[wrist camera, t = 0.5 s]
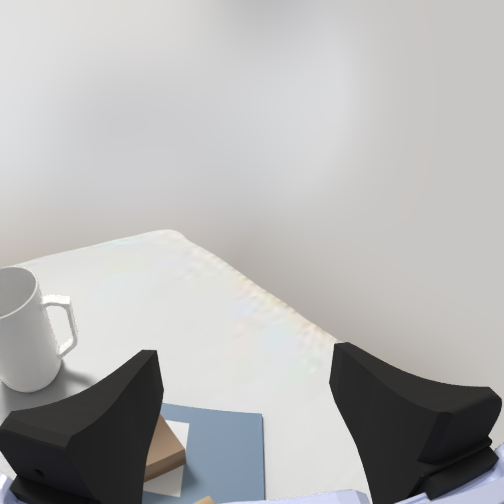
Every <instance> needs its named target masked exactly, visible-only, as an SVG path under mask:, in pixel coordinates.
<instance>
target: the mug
mask: <svg viewBox="0 0 504 504" xmlns="http://www.w3.org/2000/svg"><path fill="white" fill-rule="evenodd" d="M52 305H54V306H61V307H63V308H64V309H65V310H66V311H67V315H68V319H69V324H70V328H71V332H72V337H71V338H70V339H69V340H68V341H67V342H66V343H64V344H63V345H62V346H61V347H59V346H58V343H57V340H56V337H55V335H54V332H53V329H52V326H51V323H50V320H49V317H48V314H47V310H46V307H47V306H52ZM77 340H78V331H77V326H76V322H75V318H74V313H73V308H72V304H71V297H70V296H60V295H48V296H45V297H43V296H42V293H41V290H40V286H39V282H38V279H37V276H36V275H35V274H34V273H33V272H32V271H31V270H29V269H27V268H24V267H19V266H8V267H2V268H0V379H1V380H2V381H3V382H4V384H6V385H7V386H8V387H9V388H11V389H13V390H16V391H19V392H34V391H38V390H41V389H43V388H45V387H46V386H47V385H49V384H50V383H51V382H52V381H53V380H54V378H55V377H56V376H57V374H58V372H59V370H60V366H61V359H62V358H63V357H64V356H65V355H66V354H67V353H68V352H70V351H71V350H72V349H73V348H74V347H75V346H76V345H77Z"/></svg>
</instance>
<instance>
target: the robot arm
mask: <svg viewBox="0 0 504 504" xmlns="http://www.w3.org/2000/svg"><path fill="white" fill-rule="evenodd" d="M329 384H330V388H331V391H332V394H333V397H334V400H335V403H336V405H337V407H338V409H339V411H340V413H341V415H342V417H343V419H344V421H345V423H346V425H347V427H348V429H349V431H350V433H351V435H352V437H353V439H354V442H355V444H356V446H357V449H358V452H359V455H360V458H361V461H362V464H363V468H364V471H365V474H366V478H367V481H368V485H369V489H370V493H371V498H372V502H373V504H504V443H502V444H501V445H499V446H498V447H497V448H496V449H495V450H494V451H493V450H492V449H491V448H490V445H491V443H492V440H491V439H490V438H489V437H488V435H489V433H490V432H491V430H492V428H493V426H494V424H495V422H496V420H497V418H498V416H499V414H500V412H501V407H502V399H501V398H500V397H499V396H498V395H497V394H496V393H495V392H494V391H493V390H492V389H491V388H490V387H473V386H459V385H451V384H446V383H440V382H436V381H432V380H428V379H424V378H421V377H418V376H415V375H413V374H410V373H407V372H405V371H402V370H400V369H398V368H396V367H394V366H392V365H389V364H388V363H386V362H384V361H382V360H380V359H378V358H376V357H374V356H372V355H371V354H369V353H367V352H366V351H364V350H362V349H360V348H358V347H357V346H355V345H353V344H351V343H349V342H346V343H336V344H334V351H333V359H332V367H331V374H330V381H329ZM163 392H164V388H163V383H162V378H161V372H160V367H159V361H158V355H157V350H141V351H140V352H139V353H137V354H136V355H135V356H133V357H132V358H131V359H130V360H128V361H127V362H126V363H125V364H123V365H122V366H121V367H119V368H118V369H117V370H115V371H114V372H113V373H111V374H110V375H108V376H107V377H105V378H104V379H102V380H101V381H100V382H98V383H96V384H95V385H93V386H91V387H90V388H88V389H86V390H84V391H82V392H80V393H78V394H76V395H73V396H71V397H68V398H66V399H63V400H61V401H58V402H55V403H52V404H48V405H45V406H41V407H36V408H31V409H25V410H18V411H11V413H10V414H9V415H8V417H7V418H6V419H5V421H4V422H3V423H2V425H1V426H0V451H1V453H2V454H3V456H4V457H5V459H6V460H7V461H8V463H9V464H10V466H11V467H12V469H13V470H14V471H15V473H16V474H17V476H16V478H15V480H14V481H13V480H12V479H11V478H10V477H9V476H7V475H5V474H3V473H1V472H0V504H142V495H143V485H144V476H145V469H146V462H147V456H148V452H149V448H150V445H151V441H152V438H153V435H154V431H155V428H156V425H157V421H158V418H159V415H160V411H161V406H162V400H163ZM222 504H370V502H369V500H368V497H367V495H366V494H365V493H362V492H359V491H357V490H352V489H349V490H337V491H330V492H325V493H319V494H313V495H306V496H299V497H292V498H283V499H273V500H261V501H242V502H230V503H222Z"/></svg>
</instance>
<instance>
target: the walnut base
mask: <svg viewBox="0 0 504 504" xmlns="http://www.w3.org/2000/svg"><path fill="white" fill-rule="evenodd" d="M184 464H186V453H185V448H184V447H183V445H182V444H181V442H180V441H179V440H178V438H177V437H176V436H175V434H174V433H173V431H172V430H171V428H170V427H169V426H168V424H167V423H166V421H165V420H164V418H163V417H162V415H161V414H160V415H159V418H158V421H157V425H156V428H155V431H154V435H153V438H152V441H151V445H150V448H149V452H148V456H147V462H146V469H145V476H144V482H147V481H149V480H151V479H154V478H156V477H158V476H161V475H163V474H165V473H167V472H169V471H172V470H174V469H176V468H178V467H180V466H182V465H184Z"/></svg>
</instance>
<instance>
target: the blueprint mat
mask: <svg viewBox="0 0 504 504" xmlns="http://www.w3.org/2000/svg"><path fill="white" fill-rule="evenodd" d="M160 414H161V415H162V417H163V418H164V420H165V421H166V423H167V424H168V426H169V427H170V428H171V430H172V431H173V433H174V434H175V436H176V437H177V438H178V440H179V441H180V442H181V444H182V445H183V447H184V448H185V453H186V464H184V465H182V466H180V467H178V468H176V469H174V470H172V471H169V472H167V473H165V474H163V475H161V476H158V477H156V478H154V479H151V480H149V481H147V482H144V485H143V495H142V504H193V503H195V502H197V501H199V500H201V499H203V498H205V497H207V496H208V495H209V496H210V498H211V499H212V500H213V501H214V502H215V503H216V504H222V503H230V502H242V501H261V500H264V470H263V436H262V414H258V413H242V412H230V411H219V410H210V409H201V408H193V407H186V406H179V405H173V404H166V403H162V406H161V411H160Z"/></svg>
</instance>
